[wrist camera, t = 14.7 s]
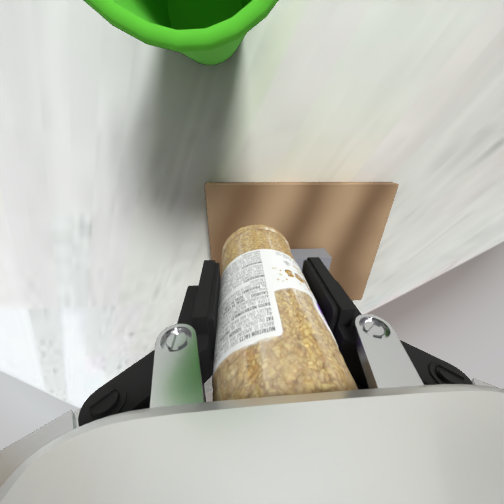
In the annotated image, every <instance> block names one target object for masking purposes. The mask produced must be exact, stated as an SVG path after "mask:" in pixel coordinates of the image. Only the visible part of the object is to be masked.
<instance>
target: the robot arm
mask: <svg viewBox="0 0 504 504" xmlns="http://www.w3.org/2000/svg"><path fill="white" fill-rule="evenodd" d="M302 273H303V275H304V277H305V279H306V281H307V284H308V286H309V288H310V290H311V291H312V293H313V295H314V297H315V299H316V301H317V303H318V305H319V307H320V309H321V311H322V313H323V316H324V318H325V320H326V322H327V324H328V326H329V328H330V330H331V332H332V334H333V336H334V338H335V340H336V343H337V345H338V348H339V351H340V353H341V355H342V356H343V359H344V361H345V364H346V366H347V368H348V370H349V372H350V373H351V375H352V377H353V379H354V381H355V383H356V385H357V388H358V390H347V391H334V392H322V393H309V394H297V395H284V396H272V397H260V398H248V399H236V400H224V401H213V402H206V396H205V388H204V383H205V382H206V381H207V380H208V379H209V378H210V377H211V375H213V363H214V350H215V339H216V328H217V315H218V303H219V290H220V281H221V278H220V264H219V263H216V262H215V260H205V261H204V264H203V268H202V273H201V277H200V282H199V286H188V289H187V292H186V295H185V299H184V302H183V306H182V309H181V312H180V316H179V319H178V323H177V324H175V325H172V326H169V327H168V328H166V329H164V330H163V331H162V332H161V333H160V334H159V336H158V337H157V340H156V343H155V350H154V351H152V352H151V353H149V354H148V355H146V356H145V357H144V358H142V359H141V360H139V361H138V362H136V363H135V364H133V365H132V366H131V367H129V368H128V369H126V370H125V371H123V372H122V373H120V374H119V375H118V376H116V377H115V378H113V379H112V380H110V381H109V382H107V383H106V384H105V385H103V386H102V387H100V388H99V389H98V390H96V391H95V392H94V393H93V394H92V395H90V397H89V398H88V399H87V400H86V401H85V402H84V404H83V406H82V408H81V409H79V410H77V411H76V412H74V413H73V411H72V410H70V411H69V412H67V413H65V414H63V415H62V416H60V417H58V418H57V419H55V420H53V421H51V422H49V423H48V424H46V425H44V426H43V427H41V428H40V429H37V430H36V431H34V432H32V433H31V434H29V435H27V436H25V437H23V438H22V439H20V440H18V441H17V442H15V443H13V444H11V445H9V446H8V447H6V448H4V449H3V450H1V451H0V504H504V389H499V388H497V387H495V386H492V385H489V384H486V383H484V382H481V381H479V380H476V379H472V381H471V380H470V379H469V378H468V377H467V376H466V375H465V374H464V373H463V372H462V371H460V370H459V369H457V368H456V367H454V366H452V365H451V364H449V363H447V362H445V361H443V360H440V359H438V358H436V357H434V356H432V355H430V354H428V353H426V352H424V351H422V350H420V349H418V348H415V347H413V346H411V345H409V344H407V343H405V342H403V341H401V340H399V338H398V337H397V334H396V333H395V331H394V329H393V328H392V326H391V325H390V324H389V323H388V322H386V321H385V320H383V319H382V318H380V317H377V316H375V315H370V314H361V313H360V312H359V310H358V309H357V307H356V306H355V305H354V303H353V302H352V301H351V299H350V298H349V296H348V295H347V294H346V292H345V291H344V289H343V288H342V287H341V285H340V284H339V282H338V281H336V280H335V279H334V278H333V276H332V275H331V273H330V272H329V271H328V269H327V268H326V266H325V265H324V264H323V262H322V261H321V259H320V258H319V257H308V258H307V260H304V262H303V268H302Z"/></svg>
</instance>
